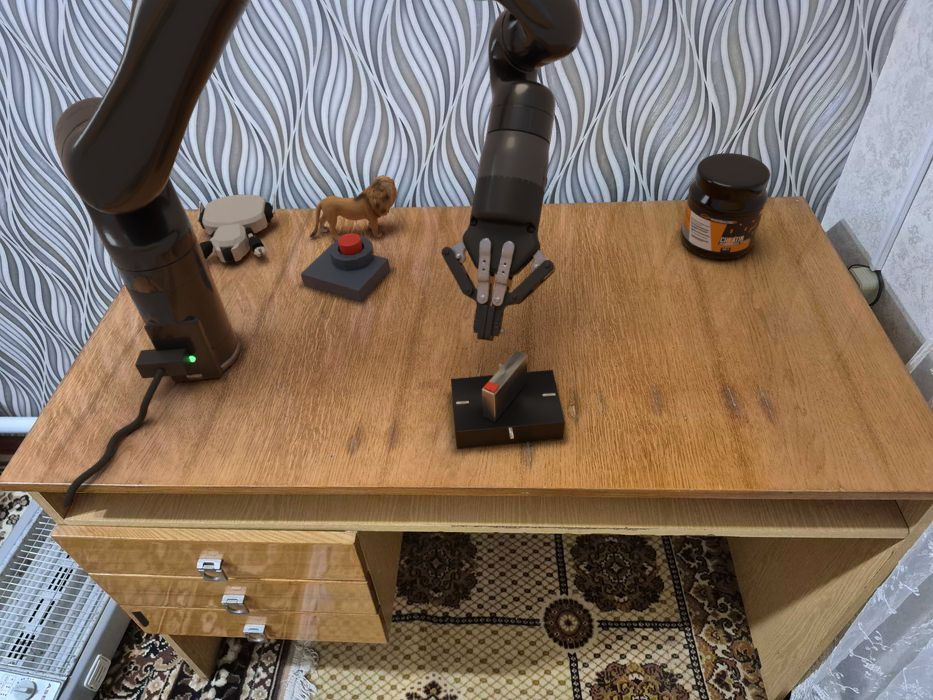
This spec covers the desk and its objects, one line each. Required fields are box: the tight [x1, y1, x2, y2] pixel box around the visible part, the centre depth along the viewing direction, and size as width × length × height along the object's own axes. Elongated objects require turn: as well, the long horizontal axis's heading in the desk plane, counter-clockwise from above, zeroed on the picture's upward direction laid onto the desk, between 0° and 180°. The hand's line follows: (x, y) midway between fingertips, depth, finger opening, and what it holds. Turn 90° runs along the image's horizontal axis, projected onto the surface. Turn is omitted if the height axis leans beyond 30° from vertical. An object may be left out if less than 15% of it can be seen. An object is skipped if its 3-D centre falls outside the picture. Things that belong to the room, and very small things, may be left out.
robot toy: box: [196, 192, 277, 264], centre depth 104 cm, size 12×4×15 cm
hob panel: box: [450, 363, 566, 450], centre depth 75 cm, size 12×11×3 cm
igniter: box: [300, 235, 391, 303], centre depth 96 cm, size 10×9×4 cm
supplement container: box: [680, 152, 771, 260], centre depth 95 cm, size 10×10×12 cm
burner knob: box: [482, 349, 529, 422], centre depth 73 cm, size 7×2×5 cm, turn 146°
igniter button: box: [338, 232, 362, 256], centre depth 95 cm, size 3×3×2 cm
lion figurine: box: [308, 174, 398, 241], centre depth 102 cm, size 15×5×9 cm, turn 103°
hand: (485, 339), depth 72 cm, fingers closed
